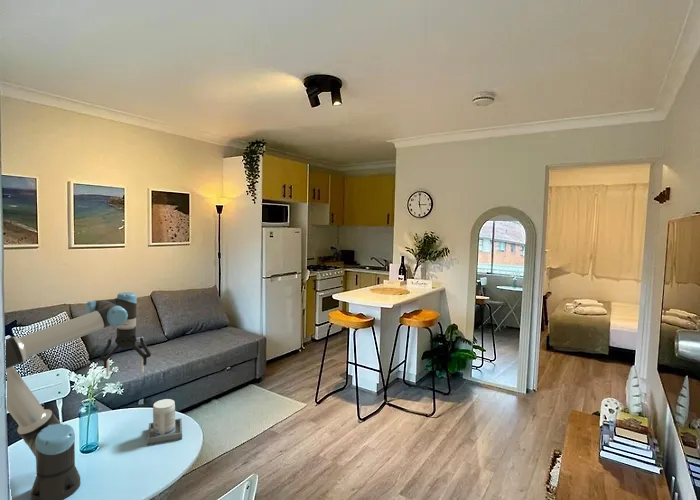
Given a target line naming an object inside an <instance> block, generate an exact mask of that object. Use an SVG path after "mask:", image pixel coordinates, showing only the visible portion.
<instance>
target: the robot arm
mask: <svg viewBox="0 0 700 500" xmlns="http://www.w3.org/2000/svg"><path fill="white" fill-rule="evenodd" d="M137 305H138V302H137V293H135V292H125V291H124V292H119V293H118V294H117V296H116V298H110V299H95V300H91V301H87V302H86V303H85V305H84V314H83V315H81V316H77V317H75V318H72V319H68V320H66V321H63V322H60V323H58V324H55V325H51V326H49V327H45V328H43V329H40V330H37V331H35V332H32V333H29V334H25V335H24V336H21V337H17V336H11V337H9V338H5V339H6V372H7V409H6V410H7V412H8V413H9V414H10V416H11V417H12V418H13V420H14V421H15V423H17V424H18V427H17V433H18V435H19V436H20V438H22V440H23V441H24V443H25V444H26V445H27V446H28V448H29V449H30V451H31V452H32V454H33V455H34V457H35V465H36V467H35V468H36V469H35V470H36V476H35V479H34V481H33V484H32V488H31V490H30V500H64V499H67V498H68V497H70V496H71V495H73V494H74V493H75V492H77V490H78V489H79V488H80V486H81V475H80V473H79V470H78V469H77V467H76V464H75V460H76V459H75V458H76V456H75V455H76V453H75V450H76V449H75V442H76V441H75V440H76V435H75V430H74V427H72V426H71V425H69V424H67V423H65V424H64V423H61V422H60V420H59V419H58V418H57V417H56V415H55V413H53V411H52V410H51V409H48V408H47V409H44V406H42V404H41V403H40V401H39V400H38V399H37V397H36V396H35V395H34V393H33V392H32V390H31V389H30V388H29V387H28V385H27V384H26V382H25V381H24V380H23V378H22V377H21V376H20V374H19V372H18V371H17V370H16V368H15V366H17V365H20V364H22V363H23V364H24V363H25V361H26V360H27V358H30V357H34V356H35V355H38V354H41V353H42V352H46V351H48V350H50V349H53V348H56V347H58V346H59V347H60V345H63V344H66V343H69V342H71V341H74V340H76V339H79V338H81V337H82V338H83V337H85V336H88V335H89V334H92V333H94V332H98V331H100V330H102V329H105V328H107V327H110V326H114V327H116V338H112V337H109V338H108V340H107V344H106V347H105V348H104V349H103V351H102V353H101V355H100V356H99V358H98V360H99V361H100V362H101V361H103V368H104V369H106V374H105V375H106V377H109V375H110V367H111V365H110V363H111V362H110V361H111V360H110V359H111V357H112V356H113V355H114V354H115V353H116V352H117V351H118V350H119V349H130V348H132V349H133V350H134V351H135V352H136V353H138V354H139V356H141V363H140V366H141V368H140V371H141V374H144V370H145V369H144V367H145V366H146V365H147V358H151V356H152V352H151V351H150V349H149V347H148V346H147V344H146V342H145V341H144V336H143V335H142V336H140V337H137V328H136V326H137ZM137 341H138V342H139V344H141V346H142V349H143V350H142V349H141V348H140V346H138V344H136V342H137ZM114 343H116V346H115V347H114V348H113V349H112V350H111V351H110V352H109V353H108V354H107V352H108V350H109V348H110V347H111V345H113V344H114ZM106 354H107V355H106Z"/></svg>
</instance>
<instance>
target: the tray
mask: <svg viewBox="0 0 700 500" xmlns="http://www.w3.org/2000/svg"><path fill="white" fill-rule="evenodd" d="M146 440H147V442H146V443H147V444H146V445H147V446H151V444H152V445H155V444H156V443H157V444H161V443H162V442H163V443H168V441H169V442H174V440H175V441H179V440H183V422H182V417H180V418H175V431H174V433H172V434H169V435H163V436H157V437H156V436H155V435H154V432H153V422H149V423H148V431H147V439H146ZM163 443H162V444H163ZM157 444H156V445H157Z"/></svg>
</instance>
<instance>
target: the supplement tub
mask: <svg viewBox="0 0 700 500" xmlns="http://www.w3.org/2000/svg"><path fill="white" fill-rule="evenodd" d="M175 403H176V402H175V400H173V399H171V398H164V399H160V400H157V401H155V402H154V403H153V405H152V406H153V407H152V419H153V420H152V421H153V422H152V423H153V432H154V435H155V436H156V437H157V436H163V435H169V434H172V433H174V431H175V419H176V404H175Z"/></svg>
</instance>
